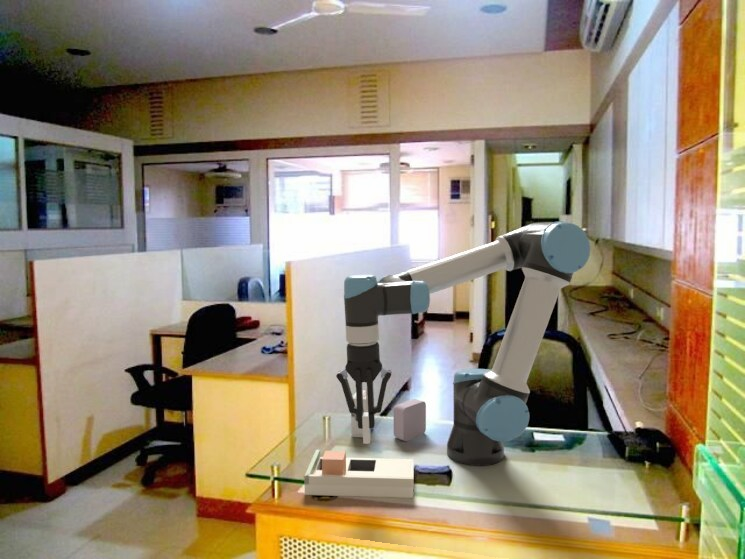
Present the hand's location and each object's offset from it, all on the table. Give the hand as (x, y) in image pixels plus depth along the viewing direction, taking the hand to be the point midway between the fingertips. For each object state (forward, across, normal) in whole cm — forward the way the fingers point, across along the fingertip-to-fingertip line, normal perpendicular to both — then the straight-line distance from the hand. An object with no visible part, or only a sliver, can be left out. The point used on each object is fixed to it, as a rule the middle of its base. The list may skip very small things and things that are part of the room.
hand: (367, 441), depth 127 cm
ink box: (+12, +5, -35) cm, 37 cm away
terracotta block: (+9, +8, -1) cm, 12 cm away
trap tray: (+11, +2, -3) cm, 12 cm away
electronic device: (+12, -9, -33) cm, 36 cm away
